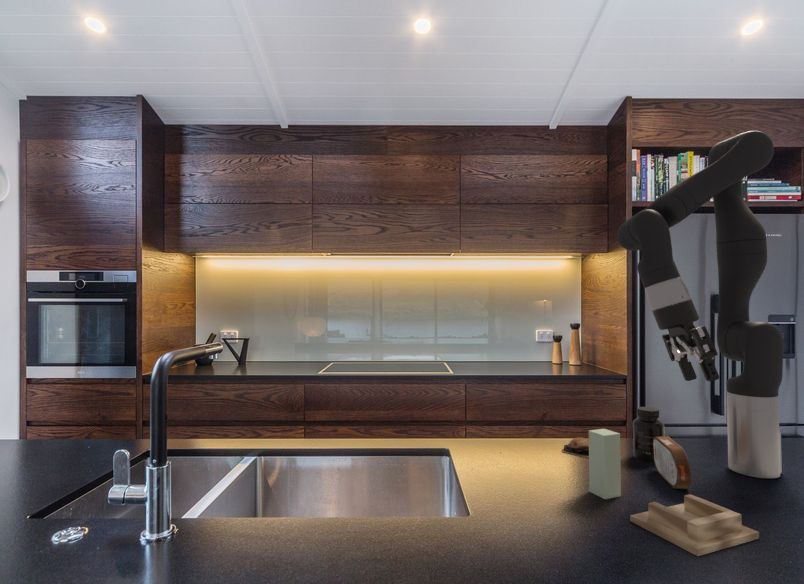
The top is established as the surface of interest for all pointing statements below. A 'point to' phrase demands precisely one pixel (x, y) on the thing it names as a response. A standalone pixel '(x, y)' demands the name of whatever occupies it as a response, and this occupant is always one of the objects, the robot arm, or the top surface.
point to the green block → (604, 463)
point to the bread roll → (578, 447)
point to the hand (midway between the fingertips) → (701, 380)
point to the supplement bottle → (646, 433)
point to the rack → (696, 525)
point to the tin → (672, 462)
